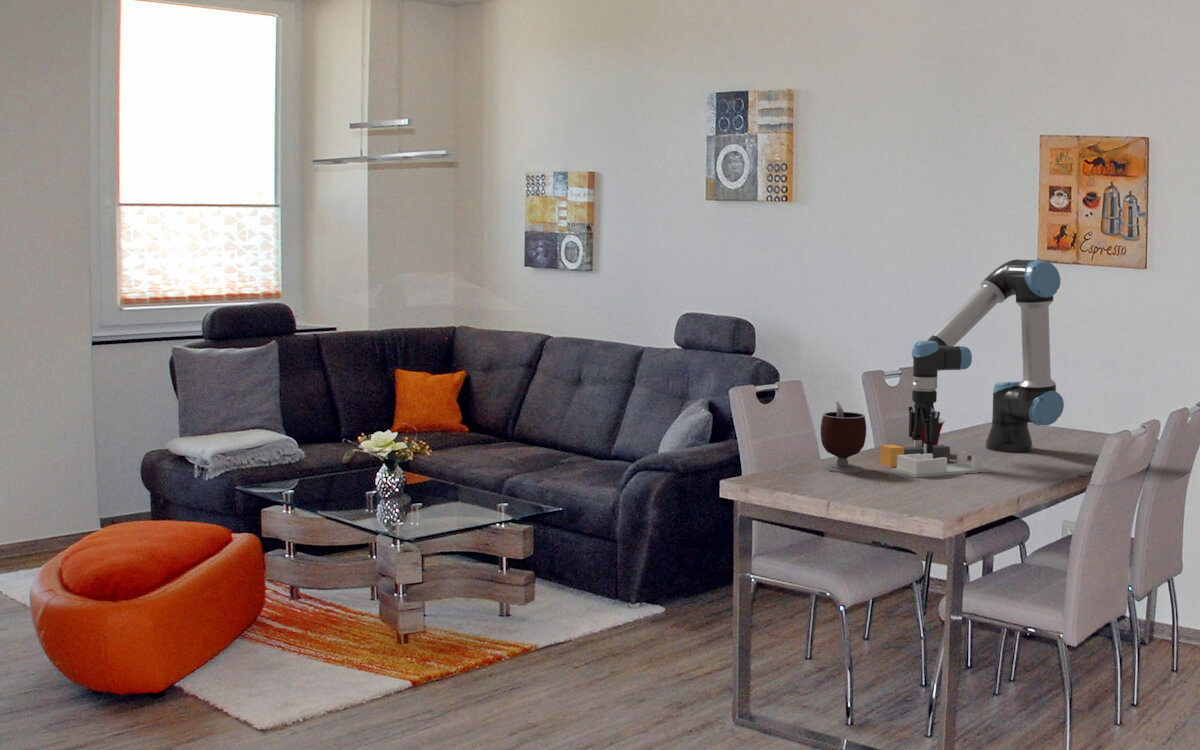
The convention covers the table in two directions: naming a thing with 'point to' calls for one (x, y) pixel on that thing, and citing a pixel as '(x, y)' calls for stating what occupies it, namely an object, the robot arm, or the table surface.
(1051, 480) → the table surface
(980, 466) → the board
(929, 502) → the table surface
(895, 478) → the table surface
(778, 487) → the table surface
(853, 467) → the mate gourd
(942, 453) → the bar
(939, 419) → the plastic cup
